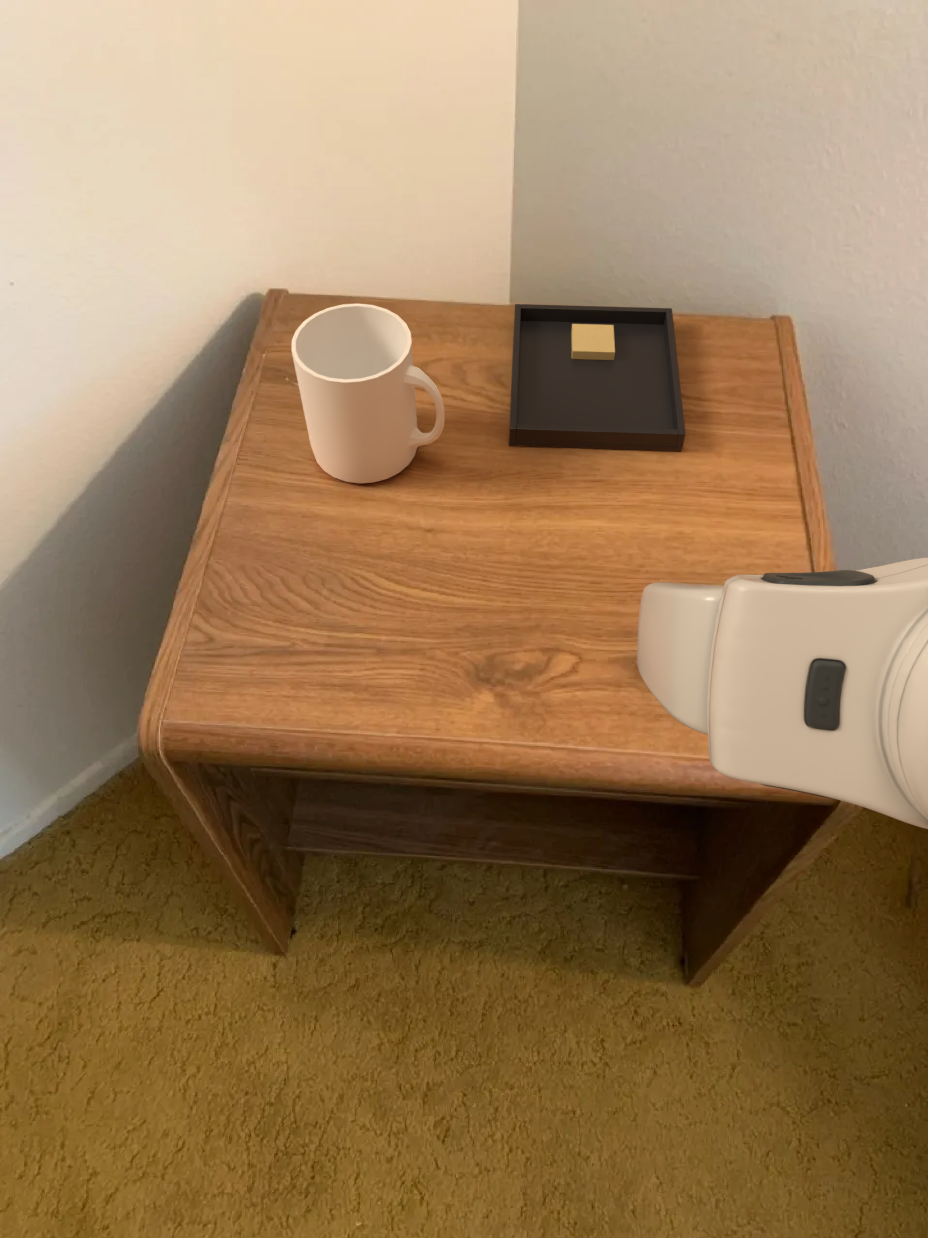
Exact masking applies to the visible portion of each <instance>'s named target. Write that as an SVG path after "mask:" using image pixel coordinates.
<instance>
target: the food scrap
mask: <svg viewBox="0 0 928 1238" xmlns="http://www.w3.org/2000/svg"><path fill="white" fill-rule="evenodd" d="M571 348H572V359H588V360H614V356H615V340H614V325H597V324H572V330H571Z"/></svg>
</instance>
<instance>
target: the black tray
mask: <svg viewBox="0 0 928 1238" xmlns="http://www.w3.org/2000/svg"><path fill="white" fill-rule="evenodd" d="M513 320H514V321H513V338H512V339H513V341H512V342H513V343H512V362H511V364H512V365H511V387H510V389H511V390H510V409H509V410H510V411H509V432H508V433H509V435H508V446H511V447H534V448H535V447H538V448H569V449H594V450H595V449H596V450H598V449H599V450H624V451H625V450H627V451H654V452H656V451H657V452H682V450H683V446H684V442H685V438H686V435H687V434H686V425H685V415H684V408H683V397H682V389H681V379H680V369H679V362H678V353H677V351H678V350H677V343H676V341H677V340H676V334H675V324H674V316H673V309H672V307H671V308H670V307H641V306H640V307H638V306H637V307H636V306H603V305H600V306H598V305H566V304H565V305H564V304H533V303H532V304H529V303H515V304H514V317H513ZM572 324H597V325H614V340H615V356H614V360H588V359H572V348H571V330H572Z"/></svg>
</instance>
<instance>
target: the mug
mask: <svg viewBox="0 0 928 1238" xmlns="http://www.w3.org/2000/svg"><path fill="white" fill-rule="evenodd" d="M291 356H292V360H293V366H294V370H295V375H296V380H297V385H298V388H299V390H298V391H299V396H300V399H301V405H302V409H303V414H304V415H303V416H304V419H305V420H304V421H305V425H306V429H307V434H308V439H309V444H310V447H311V450H312V454H313V455H314V458H315V460H316V463H317V464H318V465H319V467H320V468H321V470H323V471H324V472H325V473H326V474H328V475H329V476H331V477H333V478H334V479H336V480H337V479H338V480H340V481H344V482H345V483H346V482H347V483H354V484H369V483H371V484H372V483H376V482H380V481H385V480H388V479H390V478H391V477H394V476H396V475H397V474H399V473H401V472H402V471H403V470H405V469H406V468H407V467H408V466H409V465H410V463H411V462H412V461H413V459H414V457H415V456H416V453H417V451H418V447H421V446H428V445H431V444H432V443H434V442H436V441H437V440H439V439H440V437H441V435H442V434H443V431H444V426H445V422H446V414H445V413H446V412H445V406H444V401H443V397H442V394H441V392H440V391H439V388H438V386H437V385H436V383H435V382H434V381H433V380H432V378H430V377H429V375H427V374H426V373H425V372H424V371H423V370H422V369H421V368H420V367H417V366H416V365H414V360H413V359H414V358H413V341H412V332H411V330H410V328H409V326H408V324H407V322H406V321H404V320H403V319H402V318H401V316H399V315H398V314H396V313H395V312H393V311H391V310H389V309H387V308H385V307H380V306H378V305H374V304H367V303H344V304H343V303H342V304H339V305H334V306H331V307H327V308H325V309H322V310H320V311H317V312H315V313H313V314H312V315H310V316H309V317H308V318H306V319H305V320H304V321H303V322H302V323H301V324H300V325H299V326H298V327H297V328H296V329H295V332H294V334H293V336H292V339H291ZM417 388H418V389H423V390H425V392H427V393H428V395H429V396H430V398H431V399H432V401H433V404H434V407H435V413H436V414H435V416H436V419H435V424H434V427H433V428H432V430H431V431H429V432H422V431H421V430H420V429H419V428H418V417H417V399H416V389H417Z"/></svg>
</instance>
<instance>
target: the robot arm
mask: <svg viewBox="0 0 928 1238" xmlns="http://www.w3.org/2000/svg"><path fill="white" fill-rule="evenodd" d="M723 584H724V585H700V584H682V582H672V581H657V582H652V583H649V584H647V585H646V586H645V587H644V588H643V589H642V593H641V598H640V604H639V605H640V606H639V612H638V613H639V614H638V623H637V638H636V639H637V641H636V664H637V670H638V673H639V675H640V677H641V679H642V681H643V683H644V684H645V686H646V687H647V689H648V690H649V691H650V693H651V694H652V695H653V697H654V698H655V700H657V702H658V703H659V704H660V705H661V707H663V709H664V710H665V711H666V712H667V713H668V714H669V715H670V716H672V718H673V719H675V720H676V721H677V722H679V723H681V724H682V725H684V726H686V727H687V728H689V729H691V730H693V731H695V732H698V733H701V734H703V735H706V736H707V749H708V761H709V762H710V764H711V766H712V767H713V769H715V771H717V772H718V773H719V774H721V775H723V776H725V777H727V778H730V779H732V780H736V781H741V782H747V783H751V784H752V783H753V784H759V785H762V786H766V787H770V788H776V789H781V790H786V791H791V792H796V793H797V792H798V793H803V794H807V795H811V796H816V797H821V798H825V799H830V800H838V801H841V802H845V803H849V804H852V805H855V806H859V807H862V808H865V809H868V810H871V811H874V812H876V813H879V814H881V815H884V816H887V817H890V818H893V819H895V820H897V821H900V822H903V823H906V824H909V825H912V826H915V827H918V828H922V829H926V830H928V557H921V558H919V557H918V558H913V559H906V560H902V561H898V562H893V563H888V564H884V565H878V566H874V567H869V568H864V569H862V568H861V569H856V570H854V569H840V570H839V569H838V570H830V571H829V570H828V571H813V572H812V571H809V572H765V573H763V574H737V575H736V574H735V575H733V576H730V577H729V578H727V579H726V580H725V581H724V583H723Z"/></svg>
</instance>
